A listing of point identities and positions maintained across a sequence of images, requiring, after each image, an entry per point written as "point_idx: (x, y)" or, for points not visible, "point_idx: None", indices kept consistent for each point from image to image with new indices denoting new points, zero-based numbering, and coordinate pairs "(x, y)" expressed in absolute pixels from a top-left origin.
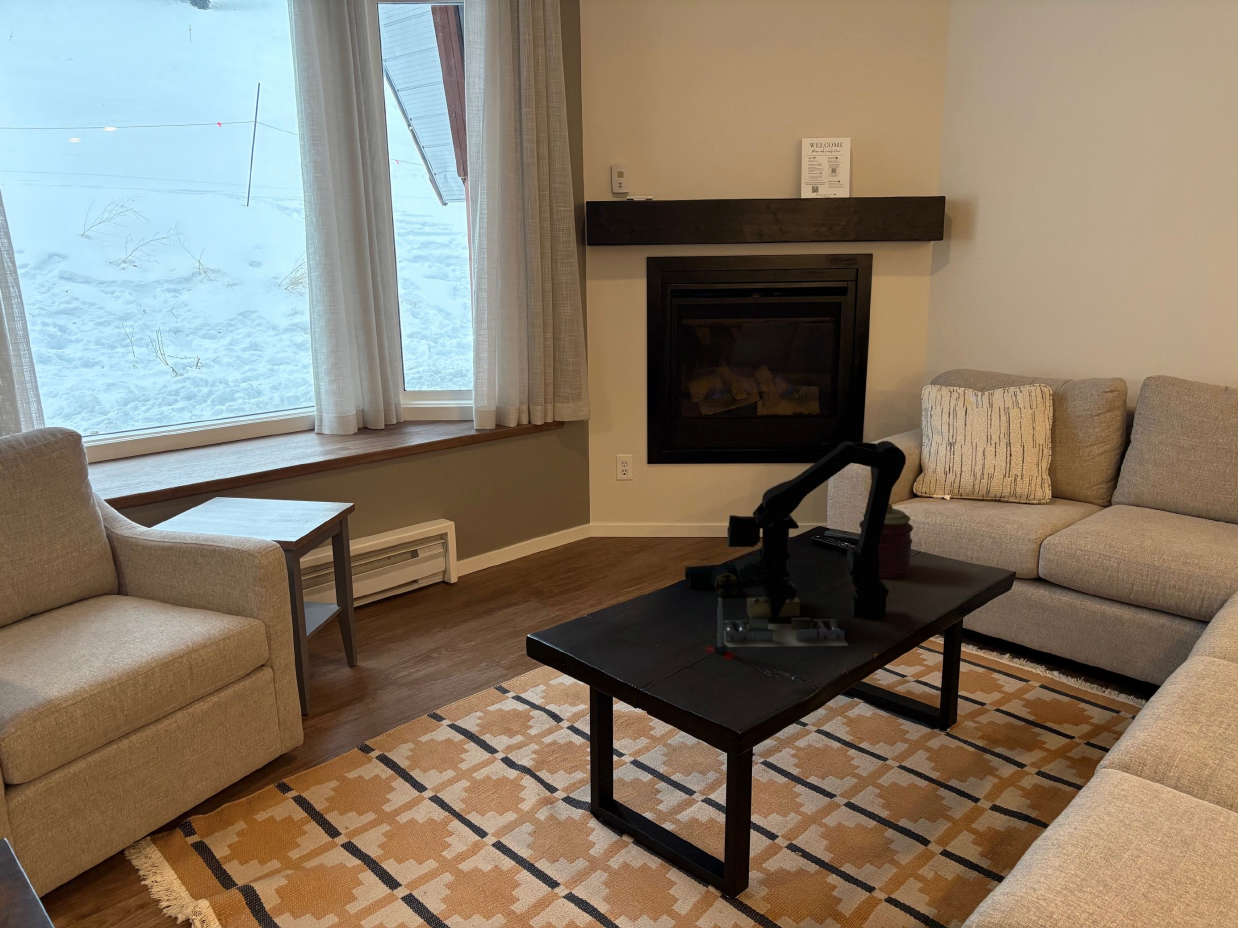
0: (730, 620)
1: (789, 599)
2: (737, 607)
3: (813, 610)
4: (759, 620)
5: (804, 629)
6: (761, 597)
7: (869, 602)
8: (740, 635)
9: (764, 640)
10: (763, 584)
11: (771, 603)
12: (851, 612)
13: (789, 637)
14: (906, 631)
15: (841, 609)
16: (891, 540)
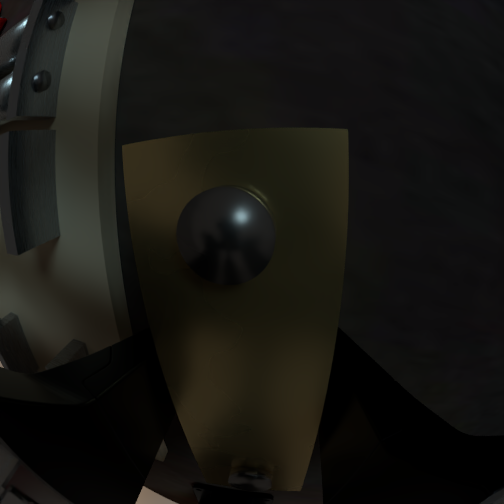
0: (31, 26)
1: (233, 469)
2: (457, 133)
3: (317, 454)
4: (2, 197)
5: (2, 357)
6: (325, 329)
7: None
8: None
9: None
10: (411, 472)
11: (92, 359)
12: (238, 500)
13: (21, 300)
14: (172, 499)
15: (303, 488)
16: None
